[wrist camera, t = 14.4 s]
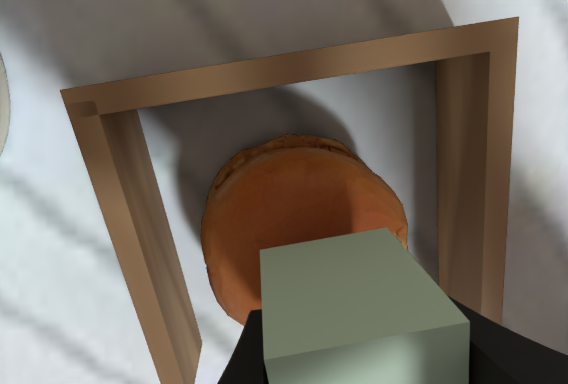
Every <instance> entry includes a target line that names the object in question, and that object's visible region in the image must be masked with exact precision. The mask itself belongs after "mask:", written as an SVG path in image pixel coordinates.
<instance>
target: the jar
mask: <svg viewBox="0 0 568 384" xmlns="http://www.w3.org/2000/svg"><path fill="white" fill-rule="evenodd" d="M9 123H10V95H9V87H8V81H7V76H6V72H5V69H4V65H3V62H2V59H1V56H0V156H1V153H2V151H3V148H4V146H5V143H6V139H7V135H8V130H9Z"/></svg>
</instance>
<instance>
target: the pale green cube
mask: <svg viewBox="0 0 568 384" xmlns="http://www.w3.org/2000/svg"><path fill="white" fill-rule="evenodd" d="M260 270H261V296H262V323H263V349H264V363H265V367H266V372H267V377H268V381H269V384H469V340H470V321H469V320H468V319H467V318H466V317H465V316H464V314H463V313H462V312H461V311H460V310H459V309H458V308H457V306H456V305H455V304H454V303H453V302H452V301H451V300H450V299H449V297H448V296H447V295H446V294H445V293H444V292H443V291H442V289H441V288H440V287H439V286H438V285H437V284H436V283H435V282H434V280H433V279H432V278H431V277H430V276H429V275H428V274H427V272H426V271H425V270H424V269H423V268H422V267H421V266H420V264H419V263H418V262H417V261H416V260H415V259H414V258H413V257H412V255H411V254H410V253H409V252H408V251H407V250H406V249H405V247H404V246H403V245H402V244H401V243H400V242H399V241H398V240H397V238H396V237H395V236H394V235H393V234H392V233H391V232H390V230H389V229H388V228H381V229H376V230H370V231H364V232H359V233H353V234H347V235H342V236H336V237H330V238H324V239H319V240H313V241H307V242H302V243H296V244H290V245H285V246H279V247H273V248H268V249H262V250H260Z"/></svg>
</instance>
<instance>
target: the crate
mask: <svg viewBox="0 0 568 384" xmlns="http://www.w3.org/2000/svg"><path fill="white" fill-rule="evenodd" d="M518 24H519V17H512V18H506V19H500V20H494V21H487V22H481V23H475V24H469V25H462V26H456V27H450V28H444V29H437V30H431V31H425V32H419V33H412V34H406V35H400V36H394V37H387V38H381V39H375V40H369V41H362V42H356V43H350V44H344V45H337V46H331V47H325V48H319V49H312V50H306V51H300V52H294V53H287V54H281V55H275V56H269V57H262V58H256V59H250V60H244V61H237V62H231V63H225V64H219V65H212V66H206V67H200V68H194V69H187V70H181V71H175V72H169V73H162V74H156V75H150V76H144V77H137V78H131V79H125V80H119V81H112V82H106V83H100V84H94V85H87V86H81V87H75V88H69V89H62V90H60V92H61V95H62V98H63V101H64V104H65V107H66V110H67V113H68V116H69V119H70V122H71V124H72V127H73V130H74V133H75V136H76V139H77V142H78V145H79V148H80V151H81V153H82V156H83V159H84V162H85V165H86V168H87V171H88V174H89V177H90V180H91V182H92V185H93V188H94V191H95V194H96V197H97V200H98V203H99V206H100V209H101V211H102V214H103V217H104V220H105V223H106V226H107V229H108V232H109V235H110V238H111V240H112V243H113V246H114V249H115V252H116V255H117V258H118V261H119V264H120V267H121V269H122V272H123V275H124V278H125V281H126V284H127V287H128V290H129V293H130V296H131V298H132V301H133V304H134V307H135V310H136V313H137V316H138V319H139V322H140V325H141V327H142V330H143V333H144V336H145V339H146V342H147V345H148V348H149V351H150V354H151V357H152V359H153V362H154V365H155V368H156V371H157V374H158V377H159V380H160V383H161V384H194V383H195V378H196V373H197V368H198V362H199V357H200V352H201V347H202V340H201V336H200V333H199V329H198V326H197V322H196V319H195V315H194V312H193V308H192V304H191V301H190V297H189V294H188V290H187V287H186V283H185V280H184V276H183V272H182V269H181V265H180V262H179V258H178V255H177V251H176V248H175V244H174V241H173V237H172V233H171V230H170V226H169V223H168V219H167V216H166V212H165V209H164V205H163V201H162V198H161V194H160V191H159V187H158V184H157V180H156V177H155V173H154V170H153V166H152V162H151V159H150V155H149V152H148V148H147V145H146V141H145V138H144V134H143V130H142V127H141V123H140V120H139V116H138V113H137V109H138V108H145V107H151V106H157V105H163V104H169V103H175V102H182V101H188V100H194V99H200V98H206V97H212V96H219V95H225V94H231V93H237V92H243V91H249V90H255V89H262V88H268V87H274V86H280V85H286V84H292V83H299V82H305V81H311V80H317V79H323V78H329V77H336V76H342V75H348V74H354V73H360V72H366V71H373V70H379V69H385V68H391V67H397V66H403V65H410V64H416V63H422V62H428V61H434V60H436V108H437V189H438V269H439V287H440V288H441V289H442V291H443V292H444V293H445V294H446V295H448V296H450V297H451V298H453V299H455V300H456V301H458V302H460V303H461V304H463V305H465V306H466V307H468V308H470V309H472V310H473V311H475V312H477V313H479V314H480V315H482V316H484V317H486V318H488V319H490V320H491V321H493V322H495V323H497V324H499V325H501V323H502V306H503V288H504V270H505V253H506V235H507V218H508V200H509V182H510V165H511V147H512V130H513V112H514V95H515V77H516V59H517V42H518Z"/></svg>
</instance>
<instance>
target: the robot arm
mask: <svg viewBox="0 0 568 384" xmlns="http://www.w3.org/2000/svg"><path fill="white" fill-rule="evenodd" d="M447 296H448V295H447ZM448 297H449V299H450V300H451V301H452V302H453V303H454V304H455V305H456V306H457V308H458V309H459V310H460V311H461V312H462V313H463V314H464V316H465V317H466V318H467V319H468V320H469V321H470V340H469V384H568V356H567V355H565V354H562V353H560V352H557V351H555V350H553V349H550V348H548V347H546V346H543V345H541V344H539V343H537V342H534V341H532V340H530V339H527V338H525V337H523V336H521V335H519V334H517V333H515V332H513V331H511V330H509V329H507V328H505V327H503V326H501V325H499V324H497V323H495V322H493V321H491V320H490V319H488V318H486V317H484V316H482V315H480V314H479V313H477V312H475V311H473V310H472V309H470V308H468V307H466V306H465V305H463V304H461V303H460V302H458V301H456V300H455V299H453V298H451V297H450V296H448ZM217 384H269V381H268V377H267V372H266V367H265V363H264V349H263V323H262V309H257V310H252V311H250V313H249V314H248V317H247V320H246V323H245V326H244V329H243V331H242V334H241V336H240V339H239V341H238V343H237V346H236V348H235V350H234V352H233V354H232V356H231V359H230V361H229V363H228V365H227V367H226V368H225V370H224V372H223V374H222V376H221V378H220V380H219V381H218V383H217Z"/></svg>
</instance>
